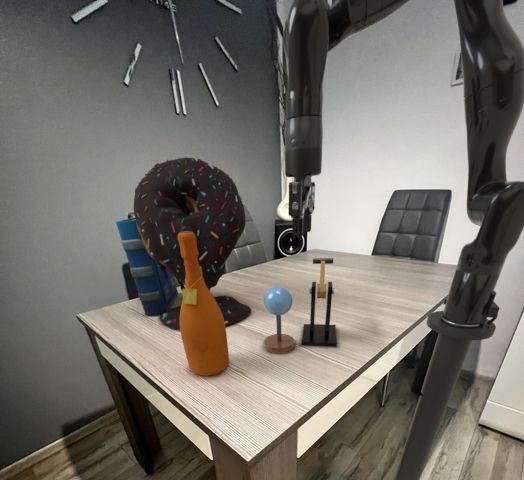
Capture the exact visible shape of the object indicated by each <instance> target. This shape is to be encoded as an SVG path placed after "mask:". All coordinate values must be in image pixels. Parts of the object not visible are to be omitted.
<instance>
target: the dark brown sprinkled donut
mask: <svg viewBox="0 0 524 480" xmlns="http://www.w3.org/2000/svg"><path fill="white" fill-rule="evenodd" d="M242 200H243V198H242V197H241V196H240V193H239V191H238V188H237V185H236V182H235V181H234V180H233V178H232V177H230V175H229V174H228V173H226V172H225V171H224V170H222V169H220V168H219V167H217V166H214V165H212V164H211V163H208V162H207V161H204V160H202V159H201V158H196V157H187V156H185V157H178V158H175V159H174V158H173V159H172V158H170V159H166V161H163V162H160V163H159V162H157V163H155V164H154V165H153V167H152V168H151V169H149V170H148V172H146V173H144V175H143V176H142V178H141V179H140V181H138V184H137V186H136V187H135V188H134V198H133V207H132V210H133V213H134V214H133V215H134V218H135V219H136V224H137V228H138V231H139V233H140V236H141V238H142V241H143V243H144V245H145V248H146V250H147V251H148V253H149V254H150V256H151V257H152V258H153V259H154V260H156V262H157V264H158V266H159V267H160V268H161V269H162V270H163V272H164V275H165V279H168V276H167V273H166V267H167V268H168V269H169V271H170V272H171V273H172V274H173V275H174V279H175V280H176V283H178V285H179V286H180V291H182V292H183V289H185V279H186V271H185V263H184V258H182V256H181V248H180V244H179V241H178V234H179V233H181V232H184V231H191V232H193V233H194V234H195V236H196V245H197V250H198V253H199V255H198V257H197V259H198V264H199V268H200V272H201V274H202V276H203V278H204V282H205V285H206V286H207V288H208V290H209V291H210V292H211V288H215V287H216V286H217V285H218V283H219V280H220V279H221V278H222V277H223V275H224V273H225V270H226V267H227V266H226V264H227V260H228V259H229V257H230V255H231V254H232V252H233V250H234V249H235V247H236V245H237V243H238V241H239V240H240V238H241V236H242V235H243V233H244V231H245V228H246V211H245V207H244V204H243V201H242ZM213 298H214V299H215V301H216V302H217V304H218V306H219V308H220V310H221V312H222V315H223V318H224V322H225V327H227V326H230V325H231V324H235V323H236V322H238V321H241V320H243V319H245V318H246V317H248V316H249V315H250V314H251V313H252V309H251V307H250V306H249V305H247V304H245V303H242V302H240V301H239V300H238V299H237V298H235V297H233V296H231V295H216V296H213ZM180 310H181V305H178V306H175V307H172V308H170V309H168V310H167V311H166V312H164V313H163V314H160V315H159V321H160V322H161V324H162V325H163V326H166V327H167V328H169V329H172V330H176V331H180Z"/></svg>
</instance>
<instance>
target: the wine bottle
mask: <svg viewBox="0 0 524 480" xmlns="http://www.w3.org/2000/svg"><path fill="white" fill-rule="evenodd" d="M178 241H179V244H180V248H181V256H182V258H184V263H185V271H186V279H185V283H184V286H185V289H183V291H182V300H181V305H180V306H181V310H180V330H179V332H180V336H181V340H182V344H183V349H184V353H185V357H186V361H187V364H188V367H189V369H190V371H191V372H192V373H193V374H195V375H198V376H205V377H207V376H214V375H216V374H219V373H221V372H223V371H224V370H225V369H226V368H227V367H228V365H229V363H230V356H229V343H228V336H227V328H226V327H227V326H225V322H224V318H223V315H222V312H221V310H220V308H219V306H218V304H217V302H216V301H215V299H214V298H213V297H214V296H213V294H212V293H211V290H210V291H209V290H208V288H207V286H206V285H205V282H204V278H203V276H202V274H201V272H200V268H199V264H198V259H197V257H198V255H199V253H198V250H197V245H196V236H195V234H194V233H193V232H191V231H184V232H181V233H179V234H178Z"/></svg>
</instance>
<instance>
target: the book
mask: <svg viewBox="0 0 524 480" xmlns="http://www.w3.org/2000/svg"><path fill="white" fill-rule="evenodd" d="M115 225H116V227H117V231H118V234H119V237H120V242H121V246H122V249H123V250H124V252H125V256H126V259H127V262H128V265H129V270H130V273H131V276H132V278H133V280H134V284H135V287H136V290H137V296H138V298H139V301H140V302H141V305H142V309H143V311H144V315H145V316H147V317H151V316H152V317H153V316H161V315H162V314H163V313H164V312H166V311H168V310H169V308H170V307H171V305H172V303H173V302H174V301H175V299H176V298H177V296H178V295H179V292H178V288H177V284H176V283H177V282H176V278H175V276H174V275H173V274H172V273H171V272H170V271H169V269H168V268H167V267H166V273H167V276H168V279H165V275H164V272H163V270H162V269H161V268H160V267H159V266H158V264H157V262H156V260H154V259H153V258H152V257H151V256H150V254H149V253H148V251H147V250H146V248H145V245H144V243H143V241H142V238H141V236H140V233H139V231H138V228H137V224H136V219H135V217H131V218H126V219H121V220H117V221H115Z"/></svg>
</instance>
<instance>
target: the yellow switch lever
mask: <svg viewBox="0 0 524 480" xmlns="http://www.w3.org/2000/svg"><path fill="white" fill-rule="evenodd" d="M312 264H313V265H320V271H319V272H320V273H319V283H317V286H316V299H327V286H328V283H325V274H326V273H325V272H326V265H333V264H334V257H327V258H326V257H320V258H317V257H316V258H315V257H313V258H312Z"/></svg>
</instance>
